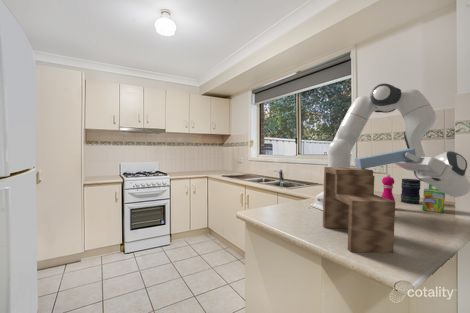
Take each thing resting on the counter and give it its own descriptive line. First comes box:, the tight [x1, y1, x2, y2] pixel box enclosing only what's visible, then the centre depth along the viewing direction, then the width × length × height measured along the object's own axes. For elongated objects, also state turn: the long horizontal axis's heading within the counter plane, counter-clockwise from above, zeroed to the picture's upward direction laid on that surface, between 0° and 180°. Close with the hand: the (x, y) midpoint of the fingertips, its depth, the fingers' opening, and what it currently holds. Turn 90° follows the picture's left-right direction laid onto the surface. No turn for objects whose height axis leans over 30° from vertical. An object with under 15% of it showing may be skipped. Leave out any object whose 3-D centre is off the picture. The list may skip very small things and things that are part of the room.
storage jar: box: [400, 178, 422, 205], centre depth 150 cm, size 10×10×15 cm
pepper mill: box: [380, 173, 396, 202], centre depth 134 cm, size 7×7×20 cm
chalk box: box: [421, 184, 446, 214], centre depth 131 cm, size 9×9×15 cm
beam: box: [354, 148, 416, 169], centre depth 94 cm, size 22×4×4 cm, turn 89°
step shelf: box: [322, 166, 396, 254], centre depth 88 cm, size 14×25×26 cm, turn 179°
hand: (400, 153), depth 94 cm, fingers closed on beam, 4 cm apart
